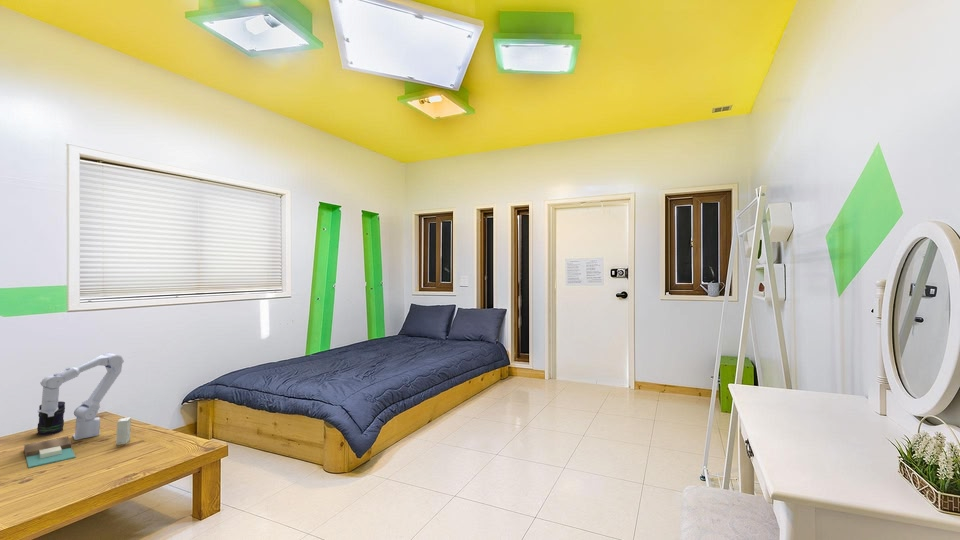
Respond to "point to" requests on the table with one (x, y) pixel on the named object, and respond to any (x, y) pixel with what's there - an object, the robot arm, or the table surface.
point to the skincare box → (123, 431)
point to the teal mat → (50, 458)
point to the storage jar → (57, 422)
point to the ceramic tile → (50, 452)
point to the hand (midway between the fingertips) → (48, 427)
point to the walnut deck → (46, 445)
